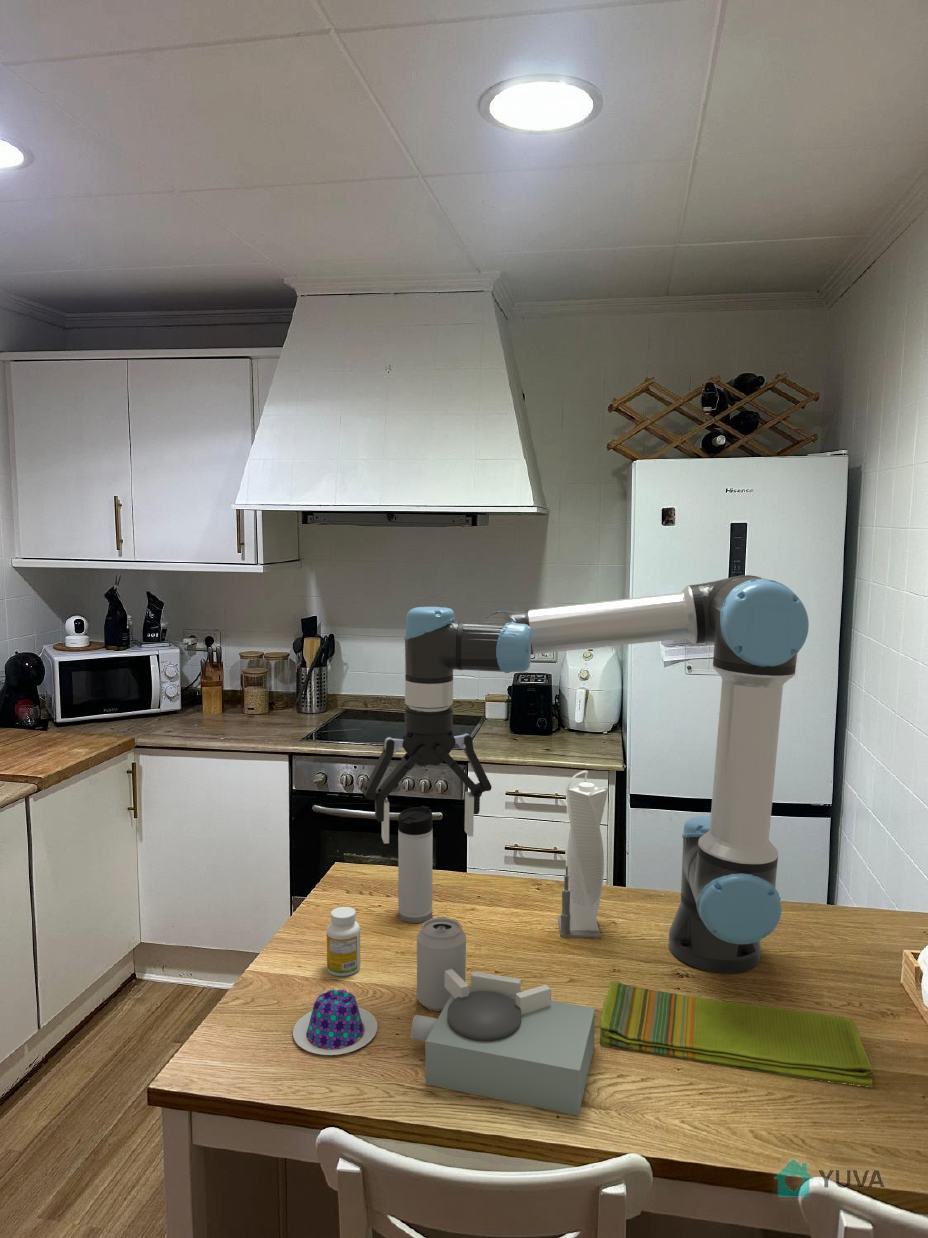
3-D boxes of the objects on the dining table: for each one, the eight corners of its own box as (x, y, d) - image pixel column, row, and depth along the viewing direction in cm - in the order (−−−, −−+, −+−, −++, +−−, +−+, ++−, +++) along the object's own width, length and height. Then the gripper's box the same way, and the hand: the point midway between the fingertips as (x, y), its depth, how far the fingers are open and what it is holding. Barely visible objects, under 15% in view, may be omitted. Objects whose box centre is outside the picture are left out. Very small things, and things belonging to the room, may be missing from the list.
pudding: (390, 1018, 125) (390, 984, 124) (356, 1067, 114) (356, 1031, 113) (317, 1003, 129) (316, 971, 128) (277, 1050, 117) (276, 1014, 117)
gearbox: (593, 1048, 118) (595, 991, 117) (578, 1116, 104) (580, 1051, 103) (430, 1018, 124) (430, 964, 123) (396, 1078, 111) (396, 1017, 110)
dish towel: (607, 990, 133) (607, 971, 133) (852, 1026, 124) (853, 1005, 124) (597, 1049, 118) (597, 1028, 118) (874, 1095, 109) (876, 1072, 109)
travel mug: (439, 912, 158) (440, 809, 155) (419, 927, 152) (419, 819, 150) (412, 904, 161) (412, 803, 159) (391, 918, 155) (391, 813, 153)
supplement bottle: (336, 957, 141) (336, 902, 140) (365, 963, 140) (365, 907, 138) (321, 973, 136) (320, 916, 135) (351, 980, 135) (350, 922, 133)
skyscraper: (557, 914, 157) (560, 768, 154) (601, 916, 157) (605, 769, 154) (560, 937, 149) (564, 783, 146) (606, 938, 149) (611, 784, 145)
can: (467, 988, 132) (468, 915, 131) (462, 1016, 125) (463, 939, 124) (420, 985, 133) (420, 913, 132) (412, 1012, 126) (413, 936, 124)
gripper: (498, 698, 139) (496, 822, 141) (346, 704, 132) (346, 834, 135) (512, 708, 131) (509, 839, 134) (351, 715, 125) (352, 852, 128)
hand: (427, 837), depth 135 cm, fingers open, 13 cm apart
